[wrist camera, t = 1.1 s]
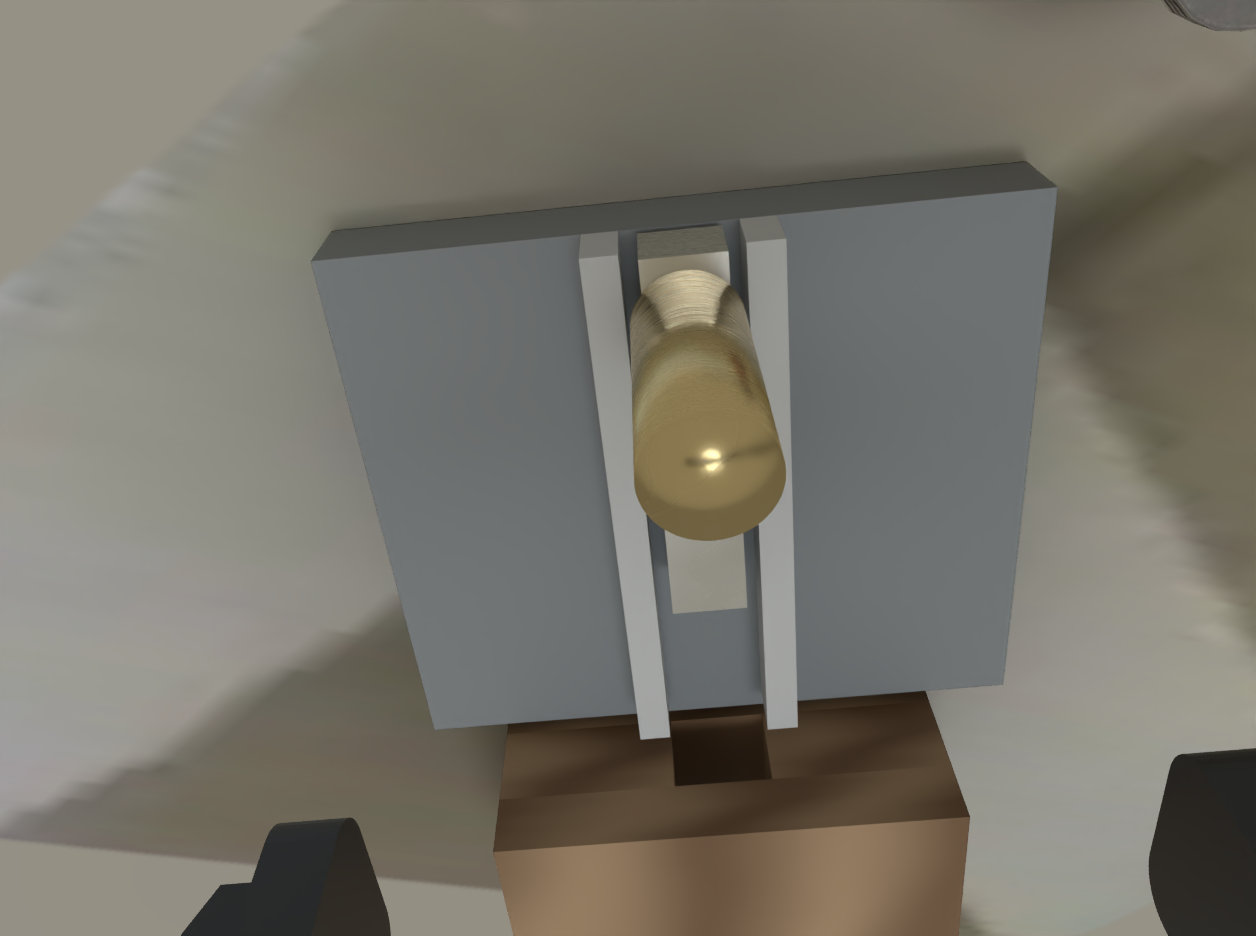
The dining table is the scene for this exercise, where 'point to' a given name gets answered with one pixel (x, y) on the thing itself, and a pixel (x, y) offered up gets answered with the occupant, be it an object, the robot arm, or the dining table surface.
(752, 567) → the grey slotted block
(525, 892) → the jamb keeper
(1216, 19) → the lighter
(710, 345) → the bolt
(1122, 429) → the dining table surface
